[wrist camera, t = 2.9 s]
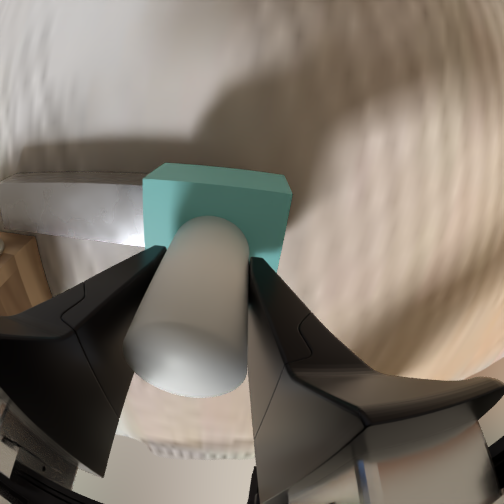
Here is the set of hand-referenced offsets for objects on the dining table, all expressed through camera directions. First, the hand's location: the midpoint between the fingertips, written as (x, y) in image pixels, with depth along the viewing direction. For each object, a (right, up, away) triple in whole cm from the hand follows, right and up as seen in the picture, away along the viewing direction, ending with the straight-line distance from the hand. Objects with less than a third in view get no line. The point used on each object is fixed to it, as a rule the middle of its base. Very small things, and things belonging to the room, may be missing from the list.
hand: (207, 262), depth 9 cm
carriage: (0, +2, +3) cm, 3 cm away
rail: (-6, +3, +4) cm, 8 cm away
